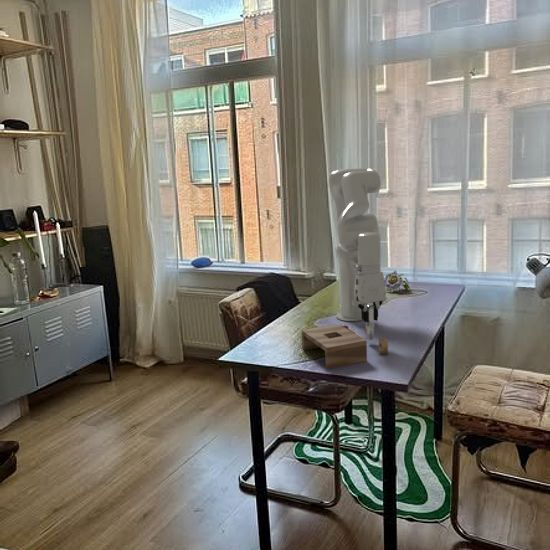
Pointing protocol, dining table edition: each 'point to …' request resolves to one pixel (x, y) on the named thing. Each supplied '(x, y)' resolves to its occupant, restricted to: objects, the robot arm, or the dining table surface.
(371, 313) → the long pin
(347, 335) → the hole stand
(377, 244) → the robot arm
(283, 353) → the dining table surface
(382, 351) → the short pin
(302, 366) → the dining table surface
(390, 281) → the passion flower
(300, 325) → the dining table surface
